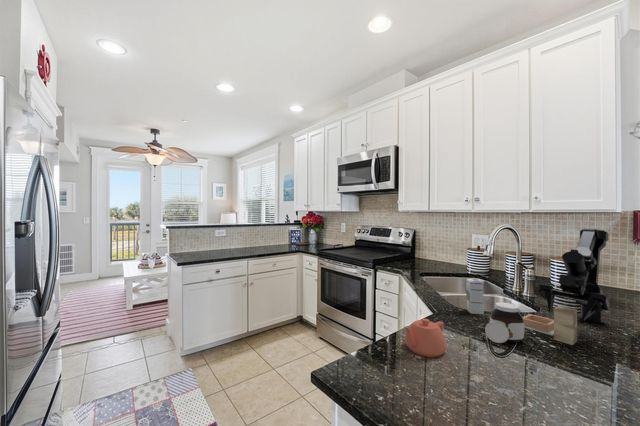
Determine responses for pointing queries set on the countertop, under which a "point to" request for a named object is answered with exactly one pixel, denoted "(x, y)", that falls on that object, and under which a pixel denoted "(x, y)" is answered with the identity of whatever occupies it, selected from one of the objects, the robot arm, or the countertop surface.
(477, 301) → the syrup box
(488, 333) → the spread jar
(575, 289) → the robot arm
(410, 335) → the teapot
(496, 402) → the countertop surface
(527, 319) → the pink rectangular tray
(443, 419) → the countertop surface
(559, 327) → the maple peg
